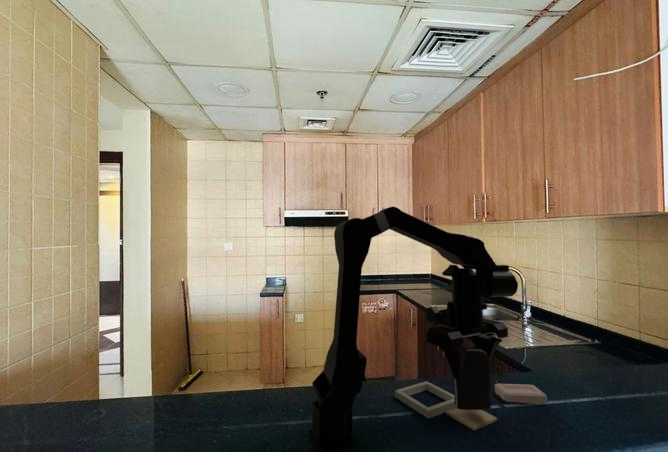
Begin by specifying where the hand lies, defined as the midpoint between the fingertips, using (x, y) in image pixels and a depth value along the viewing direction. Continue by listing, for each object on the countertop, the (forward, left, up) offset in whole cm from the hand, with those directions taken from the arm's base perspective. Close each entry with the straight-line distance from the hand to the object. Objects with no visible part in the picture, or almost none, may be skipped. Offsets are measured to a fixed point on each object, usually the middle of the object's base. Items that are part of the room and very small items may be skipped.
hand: (469, 375), depth 61 cm
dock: (-3, +9, -8) cm, 12 cm away
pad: (0, 0, -8) cm, 8 cm away
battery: (0, 0, -6) cm, 6 cm away
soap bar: (+17, 0, -9) cm, 19 cm away
